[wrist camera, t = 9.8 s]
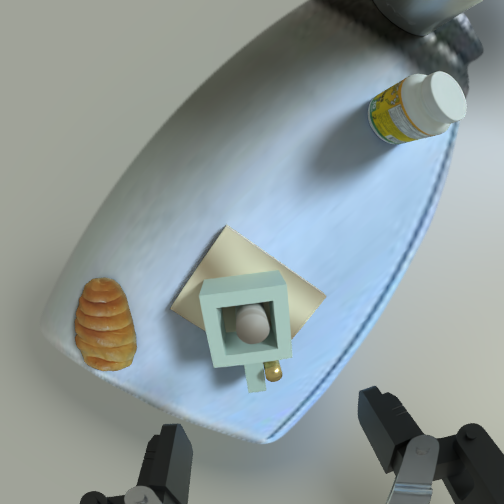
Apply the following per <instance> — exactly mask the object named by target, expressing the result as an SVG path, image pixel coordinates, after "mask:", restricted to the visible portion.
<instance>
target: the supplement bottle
mask: <svg viewBox="0 0 504 504" xmlns="http://www.w3.org/2000/svg"><path fill="white" fill-rule="evenodd" d="M465 114H466V100H465V97H464V94H463V91H462V90H461V88H460V86H459V85H458V83H457V82H456V81H455V80H454V79H453V78H452V77H451V76H450V75H448V74H447V73H445V72H440V71H438V72H435V73H432V74H430V75H428V76H427V75H423V74H414V75H411V76H408V77H407V78H405V79H404V80H402V81H400V82H399V83H397V84H395V85H393V86H392V87H390V88H388V89H387V90H385V91H383V92H382V93H380V94H378V95H377V96H375V97H374V98H373V99H372V100H371V102H370V104H369V108H368V120H369V124H370V126H371V128H372V129H373V131H374V132H375V133H376V135H377V136H378V137H379V138H380V139H382V140H383V141H385V142H387V143H390V144H402V143H406V142H410V141H414V140H418V139H422V138H427V137H431V136H435V135H439V134H442V133H444V132H445V131H446V130H447V129H448V128H449V126H450V124H451V123H454V122H457V121H460V120H462V119H463V118H464V116H465Z"/></svg>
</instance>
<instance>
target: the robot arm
mask: <svg viewBox="0 0 504 504" xmlns="http://www.w3.org/2000/svg"><path fill="white" fill-rule="evenodd" d="M373 1H374V3H375V4H376V6H377V7H378V8H379V10H380V11H381V12H382V13H383V14H384V15H385V16H386V17H387V18H388V19H389V20H390V21H391V22H393V23H394V24H395V25H397V26H398V27H400V28H401V29H403V30H405V31H407V32H409V33H411V34H415V35H419V36H425V35H428V34H429V33H431V32H432V31H434V30H435V29H437V28H438V27H440V26H442V25H443V24H445V23H447V22H448V21H450V20H451V19H453V18H454V17H456V16H458V15H459V14H461V13H462V12H464V11H466V10H467V9H469V8H471V7H472V6H474V5H476V4H477V3H479V2H481V1H483V0H373ZM358 400H359V401H358V419H359V422H360V425H361V426H362V428H363V430H364V432H365V434H366V436H367V438H368V440H369V442H370V444H371V446H372V448H373V450H374V451H375V454H376V456H377V458H378V460H379V461H380V463H381V465H382V467H383V469H384V471H385V473H386V474H387V473H389V472H392V471H394V473H395V475H396V477H395V480H394V483H393V486H392V488H391V491H390V494H389V496H388V499H387V501H386V504H429V503H430V500H431V496H432V489H431V485H432V481H435V480H439V479H442V480H443V482H444V484H445V486H446V488H447V490H448V491H449V493H450V495H451V497H452V499H453V501H454V503H455V504H504V454H503V453H502V452H501V450H500V449H499V448H498V446H497V445H496V444H495V443H494V441H493V440H492V439H491V437H490V436H489V435H488V433H487V432H486V431H485V430H484V429H483V428H482V426H480V425H478V424H474V423H471V424H466V425H464V426H463V427H461V428H460V429H459V431H458V433H457V434H456V435H452V436H448V437H444V438H434V437H433V436H430V435H425V434H424V433H423V432H422V431H421V429H420V428H419V427H418V425H417V424H416V422H415V421H414V420H413V418H412V417H411V416H410V414H409V413H408V412H407V410H406V409H405V407H404V406H402V403H401V402H400V401H399V399H398V398H397V397H396V396H394V395H392V394H390V393H389V392H387V393H385V394H381V392H380V391H379V389H378V388H377V387H376V386H372V387H370V388H367V389H364V390H361V391H360V392H359V399H358ZM192 456H193V450H192V445H191V443H190V441H189V439H188V437H187V435H186V433H185V431H184V429H183V427H182V426H181V424H164V425H163V426H162V429H161V433H160V435H154V436H153V438H152V439H151V440H150V441H149V442H148V445H147V449H146V453H145V456H144V460H143V463H142V467H141V471H140V475H139V478H138V482H137V485H136V487H133V488H131V489H130V490H128V491H127V493H126V494H125V495H122V496H114V497H105V496H104V495H103V494H102V493H100V492H96V491H92V492H88V493H86V494H85V495H84V496H83V497H82V498H81V501H80V504H187V503H188V493H189V484H190V475H191V466H192Z"/></svg>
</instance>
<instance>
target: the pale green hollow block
mask: <svg viewBox="0 0 504 504" xmlns="http://www.w3.org/2000/svg"><path fill="white" fill-rule="evenodd" d="M199 299H200V304H201V309H202V314H203V319H204V324H205V329H206V334H207V339H208V343H209V348H210V352H211V357H212V361H213V366H214V368H219V367H229V366H238V365H244V368H245V374H246V380H247V386H248V391H249V393H252V392H260V391H266V384H265V377H264V369H263V362H268V361H275V360H281V359H287V358H292V344H291V330H290V316H289V304H288V291H287V284H286V282H285V280H284V279H283V277H282V275H281V274H280V272H279V270H274V271H266V272H259V273H252V274H244V275H236V276H228V277H221V278H213V279H204V281H203V285H202V288H201V291H200V294H199ZM267 301H269V308H270V317H271V327H269V328H270V330H269V334H268V336H267V338H266V339H265V340H263V341H262V342H260V343H257V344H247V343H245V342H243V341H241V340H240V339H239V337H238V336H237V333H236V331H235V332H226V330H225V324H224V319H223V313H222V307H229V306H237V305H245V304H252V303H260V302H267Z"/></svg>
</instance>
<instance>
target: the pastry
mask: <svg viewBox="0 0 504 504" xmlns="http://www.w3.org/2000/svg"><path fill="white" fill-rule="evenodd" d="M76 316H77V317H76V319H75V331H76V333H77V335H76V337H75V341H76V345H77V347H78V348H79V349H80V350H81V353H82V356H83V358H84V362H85V363H86V364H87V365H89V366H91V367H92V368H95V369H98V370H101V371H118V370H121V369H123V368H126V367H128V366H130V365H131V364H132V361H133V357H134V354H135V352H136V349H137V345H136V333H135V330H134V325H133V320H132V316H131V313H130V309H129V305H128V301H127V298H126V295H125V293H124V292H123V290H122V288H121V286H120V285H119V284H118V283H117V282H116V281H115V280H113V279H109V278H95V279H92V280H91V281H89V282H88V283H87V284H86V285H85V287H84V290H83V294H82V296H81V297H80V298H79V306H78V308H77V311H76Z"/></svg>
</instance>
